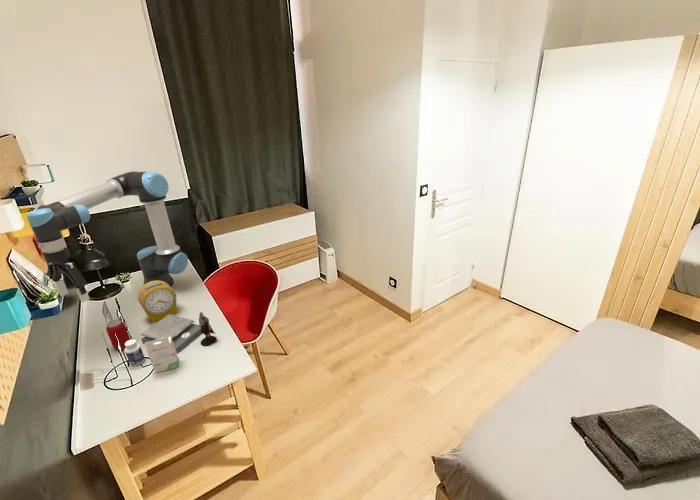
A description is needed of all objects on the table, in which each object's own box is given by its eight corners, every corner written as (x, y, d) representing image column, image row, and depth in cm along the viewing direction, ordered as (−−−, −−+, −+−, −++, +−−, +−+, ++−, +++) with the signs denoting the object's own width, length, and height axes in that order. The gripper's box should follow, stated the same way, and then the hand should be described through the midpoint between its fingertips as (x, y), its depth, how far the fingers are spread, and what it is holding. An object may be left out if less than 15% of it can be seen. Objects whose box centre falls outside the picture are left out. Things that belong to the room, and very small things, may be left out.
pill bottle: (138, 367, 140) (130, 347, 136) (126, 365, 142) (119, 346, 138) (148, 357, 145) (141, 338, 141) (136, 356, 146) (129, 337, 142)
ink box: (179, 359, 144) (169, 329, 137) (178, 367, 139) (168, 337, 133) (155, 365, 141) (145, 335, 135) (154, 373, 137) (143, 343, 131)
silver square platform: (170, 317, 165) (169, 314, 164) (194, 323, 160) (193, 320, 159) (142, 337, 153) (141, 333, 152) (168, 344, 147) (166, 340, 147)
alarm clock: (148, 325, 166) (137, 292, 158) (144, 318, 171) (132, 285, 164) (181, 312, 174) (171, 280, 167) (176, 305, 180) (166, 274, 172)
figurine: (197, 344, 152) (188, 314, 145) (209, 334, 158) (202, 305, 151) (208, 348, 149) (200, 318, 143) (221, 337, 155) (213, 308, 149)
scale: (171, 322, 167) (170, 316, 166) (204, 330, 160) (203, 325, 159) (142, 343, 154) (140, 337, 153) (177, 353, 147) (175, 347, 145)
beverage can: (129, 338, 157) (120, 316, 152) (133, 345, 153) (125, 322, 148) (112, 346, 153) (102, 323, 148) (116, 353, 149) (106, 330, 144)
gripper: (24, 249, 136) (46, 296, 145) (64, 258, 126) (84, 308, 135) (46, 242, 142) (65, 287, 151) (85, 249, 133) (104, 298, 141)
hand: (74, 297), depth 143 cm, fingers open, 13 cm apart
